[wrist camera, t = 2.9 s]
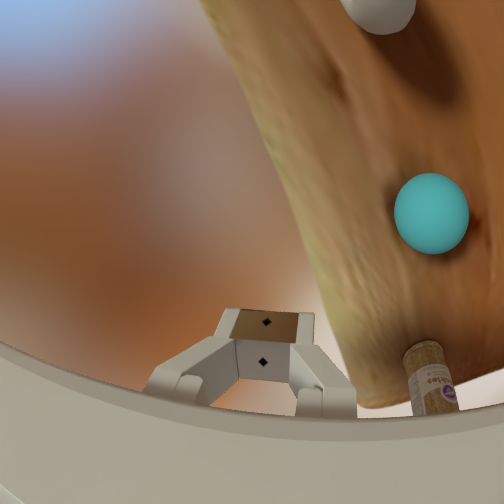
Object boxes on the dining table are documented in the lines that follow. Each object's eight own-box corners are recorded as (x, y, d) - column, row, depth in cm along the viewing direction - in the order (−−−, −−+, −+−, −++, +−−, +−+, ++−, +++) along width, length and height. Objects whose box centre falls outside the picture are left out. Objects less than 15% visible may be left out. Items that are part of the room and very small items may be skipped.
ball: (389, 162, 20) (411, 181, 15) (455, 169, 19) (489, 190, 14) (383, 232, 23) (399, 268, 18) (445, 235, 22) (471, 270, 17)
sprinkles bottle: (448, 339, 26) (483, 451, 14) (431, 369, 28) (453, 476, 16) (410, 337, 27) (436, 458, 15) (395, 368, 29) (409, 482, 17)
